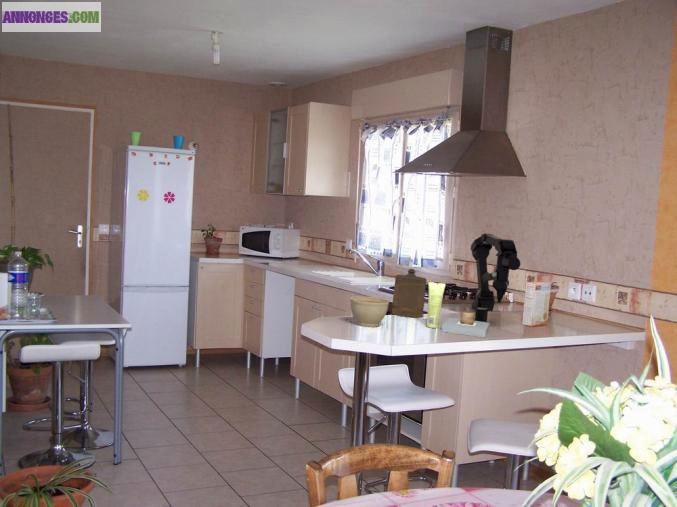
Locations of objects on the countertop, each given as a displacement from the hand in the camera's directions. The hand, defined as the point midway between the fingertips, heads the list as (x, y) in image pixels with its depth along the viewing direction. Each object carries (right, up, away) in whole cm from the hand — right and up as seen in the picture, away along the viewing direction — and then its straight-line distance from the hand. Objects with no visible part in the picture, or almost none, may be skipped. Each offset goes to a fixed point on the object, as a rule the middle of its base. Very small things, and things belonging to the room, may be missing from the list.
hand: (498, 302), depth 314 cm
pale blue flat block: (-16, -12, -6) cm, 20 cm away
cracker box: (+23, -13, +27) cm, 38 cm away
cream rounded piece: (-16, -12, -6) cm, 20 cm away
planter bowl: (-59, -9, -16) cm, 61 cm away
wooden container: (-39, -8, +22) cm, 45 cm away
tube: (-30, -11, -6) cm, 33 cm away
